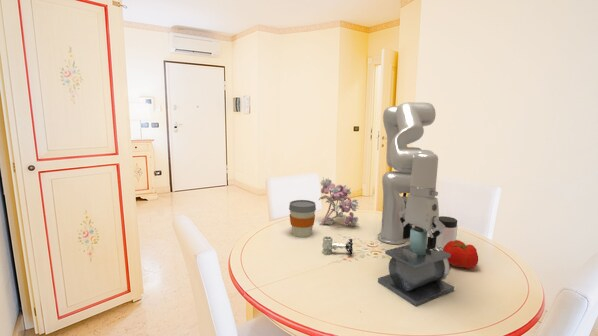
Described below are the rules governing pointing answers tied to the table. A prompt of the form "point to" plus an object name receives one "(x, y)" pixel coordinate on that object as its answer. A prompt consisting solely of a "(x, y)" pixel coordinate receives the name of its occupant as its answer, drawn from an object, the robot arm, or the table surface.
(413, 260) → the motor
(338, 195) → the flower
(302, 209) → the reusable coffee cup
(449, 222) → the jar
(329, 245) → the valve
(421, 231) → the teal cylinder with cap
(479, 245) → the table surface
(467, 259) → the tomato
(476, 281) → the table surface
